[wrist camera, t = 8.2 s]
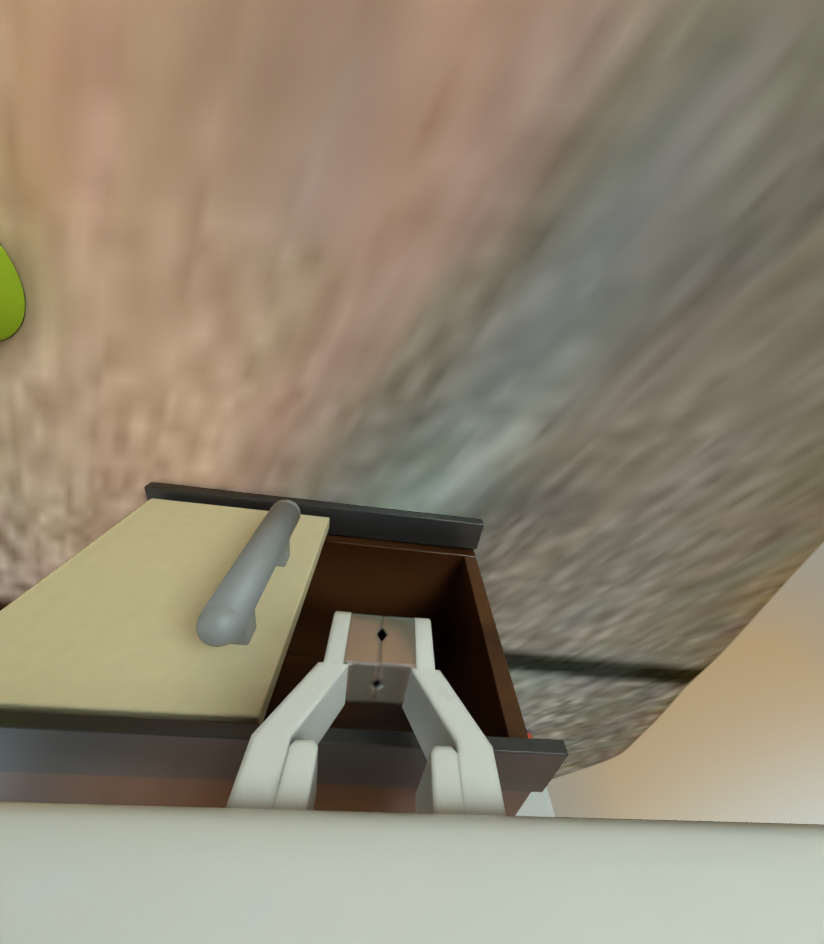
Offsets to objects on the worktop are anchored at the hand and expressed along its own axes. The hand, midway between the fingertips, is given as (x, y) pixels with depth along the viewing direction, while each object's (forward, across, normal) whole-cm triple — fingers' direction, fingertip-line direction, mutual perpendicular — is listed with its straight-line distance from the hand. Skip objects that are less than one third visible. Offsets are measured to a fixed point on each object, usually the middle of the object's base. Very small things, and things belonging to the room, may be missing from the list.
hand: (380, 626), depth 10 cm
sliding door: (+9, +8, +2) cm, 12 cm away
